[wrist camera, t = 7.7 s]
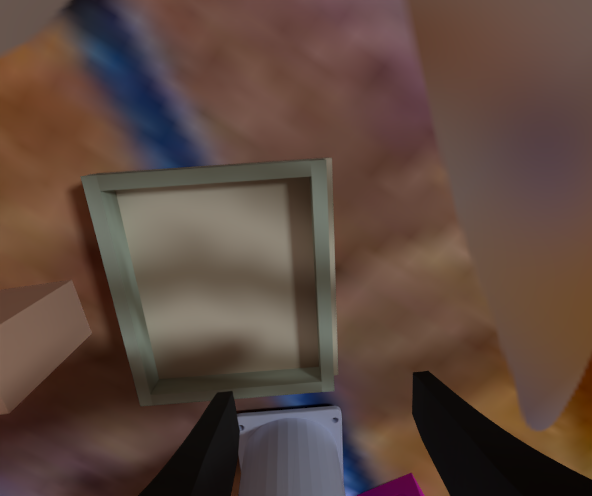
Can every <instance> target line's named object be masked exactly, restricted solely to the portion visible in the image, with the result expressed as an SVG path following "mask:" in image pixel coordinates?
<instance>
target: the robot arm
mask: <svg viewBox="0 0 592 496" xmlns="http://www.w3.org/2000/svg"><path fill="white" fill-rule="evenodd" d="M412 415H413V417H414V420H415V423H416V425H417V428H418V431H419V433H420V436H421V438H422V441H423V443H424V445H425V447H426V449H427V451H428V453H429V455H430V457H431V459H432V461H433V463H434V465H435V467H436V469H437V471H438V473H439V475H440V476H441V478H442V480H443V482H444V484H445V486H446V488H447V490H448V492H449V494H450V496H592V480H591V479H589V478H587V477H585V476H583V475H581V474H579V473H577V472H575V471H573V470H571V469H569V468H567V467H566V466H564V465H562V464H560V463H558V462H557V461H555V460H553V459H551V458H549V457H547V456H546V455H544V454H542V453H540V452H539V451H537V450H535V449H534V448H532V447H530V446H529V445H527V444H525V443H524V442H522V441H521V440H519V439H517V438H516V437H514V436H513V435H511V434H510V433H508V432H507V431H505V430H504V429H502V428H501V427H499V426H498V425H496V424H495V423H494V422H492V421H491V420H489V419H488V418H487V417H485V416H484V415H482V414H481V413H480V412H478V411H477V410H476V409H474V408H473V407H472V406H471V405H469V404H468V403H467V402H465V401H464V400H463V399H462V398H460V397H459V396H458V395H457V394H456V393H454V392H453V391H452V390H451V389H449V388H448V387H447V386H446V385H445V384H443V383H442V382H441V381H440V380H439V379H437V378H436V377H435V376H434V375H433V374H431V373H430V372H429V371H423V372H413V401H412ZM335 417H336V419H333V418H335ZM239 425H243V426H239ZM238 455H239V462H240V468H241V479H240V486H239V494H238V496H346V495H345V490H344V484H343V449H342V414H341V409H340V408H339V407H338V406H326V407H314V408H301V409H289V410H276V411H264V412H251V413H240V414H237V412H236V407H235V401H234V396H233V391H227V392H217V393H216V394H215V396H214V397H213V399H212V401H211V402H210V404H209V405H208V407H207V408H206V410H205V412H204V413H203V415H202V416H201V418H200V419H199V421H198V422H197V424H196V425H195V426H194V428H193V429H192V431H191V432H190V434H189V435H188V436H187V438H186V439H185V441H184V442H183V443H182V445H181V446H180V447H179V449H178V450H177V451H176V452H175V454H174V455H173V456H172V458H171V459H170V460H169V461H168V463H167V464H166V465H165V466H164V468H163V469H162V470H161V471H160V472H159V473H158V475H157V476H156V477H155V478H154V479H153V480H152V481H151V482H150V484H149V485H148V486H147V487H146V488H145V489H144V490H143V491H142V492H141V493H140V494H139V495H138V496H231V491H232V486H233V481H234V476H235V471H236V465H237V460H238Z"/></svg>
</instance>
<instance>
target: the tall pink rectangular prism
mask: <svg viewBox="0 0 592 496" xmlns="http://www.w3.org/2000/svg"><path fill="white" fill-rule="evenodd" d="M91 334H92V332H91V330H90V327H89V324H88V322H87V319H86V316H85V314H84V311H83V308H82V306H81V303H80V300H79V298H78V295H77V292H76V290H75V287H74V285H73V282H72V280H67V281H60V282H53V283H46V284H39V285H32V286H25V287H18V288H11V289H4V290H0V415H2V414H9V413H10V412H11V411H12V410H13V409H14V408H16V407H17V406H18V405H19V404H20V403H21V402H22V401H23V400H24V399H25V398H26V397H27V396H28V395H29V394H30V393H31V392H32V391H33V390H34V389H35V388H36V387H37V386H38V385H39V384H40V383H41V382H42V381H43V380H44V379H45V378H46V377H48V376H49V375H50V374H51V373H52V372H53V371H54V370H55V369H56V368H57V367H58V366H59V365H60V364H61V363H62V362H63V361H64V360H65V359H66V358H67V357H68V356H69V355H70V354H71V353H72V352H73V351H74V350H75V349H76V348H77V347H78V346H80V345H81V344H82V343H83V342H84V341H85V340H86V339H87V338H88V337H89V336H90V335H91Z"/></svg>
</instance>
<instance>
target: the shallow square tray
mask: <svg viewBox="0 0 592 496" xmlns="http://www.w3.org/2000/svg"><path fill="white" fill-rule="evenodd" d="M81 180H82V184H83V188H84V192H85V195H86V199H87V203H88V207H89V211H90V215H91V218H92V222H93V226H94V230H95V234H96V238H97V241H98V245H99V249H100V253H101V257H102V261H103V265H104V268H105V272H106V276H107V280H108V284H109V288H110V291H111V295H112V299H113V303H114V307H115V311H116V314H117V318H118V322H119V326H120V330H121V334H122V338H123V341H124V345H125V349H126V353H127V357H128V361H129V364H130V368H131V372H132V376H133V380H134V384H135V387H136V391H137V395H138V399H139V403H140V406H151V405H163V404H176V403H189V402H201V401H212V399H213V397H214V396H215V394H216V393H217V392H227V391H233V396H234V399H239V398H251V397H264V396H277V395H289V394H302V393H314V392H327V391H334V375H338V351H337V317H336V284H335V250H334V216H333V183H332V158H316V159H301V160H287V161H272V162H257V163H242V164H228V165H213V166H198V167H184V168H169V169H154V170H139V171H125V172H110V173H97V174H89V175H87V176H81Z"/></svg>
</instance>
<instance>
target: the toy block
mask: <svg viewBox="0 0 592 496" xmlns="http://www.w3.org/2000/svg"><path fill="white" fill-rule="evenodd" d="M357 496H424V494H423V492H422V490H421V489H420V487H419V485H418V483H417V482H416V480H415V478H414V477H413V475H412V473H410V474H407V475H405V476H402V477H400V478H398V479H395V480H393V481H390V482H388V483H386V484H383V485H381V486H378V487H376V488H374V489H371V490H369V491H366V492H364V493H362V494H359V495H357Z"/></svg>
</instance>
